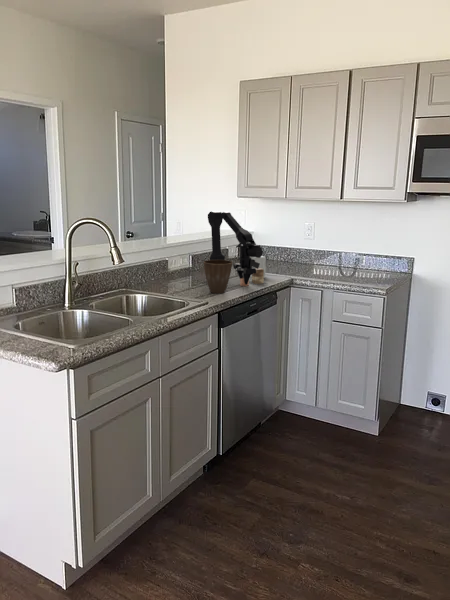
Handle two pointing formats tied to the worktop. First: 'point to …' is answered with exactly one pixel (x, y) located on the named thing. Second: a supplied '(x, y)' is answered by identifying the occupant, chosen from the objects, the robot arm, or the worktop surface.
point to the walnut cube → (258, 272)
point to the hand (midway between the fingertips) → (244, 283)
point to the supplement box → (261, 263)
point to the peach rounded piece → (243, 282)
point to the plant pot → (217, 274)
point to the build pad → (257, 284)
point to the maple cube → (258, 279)
